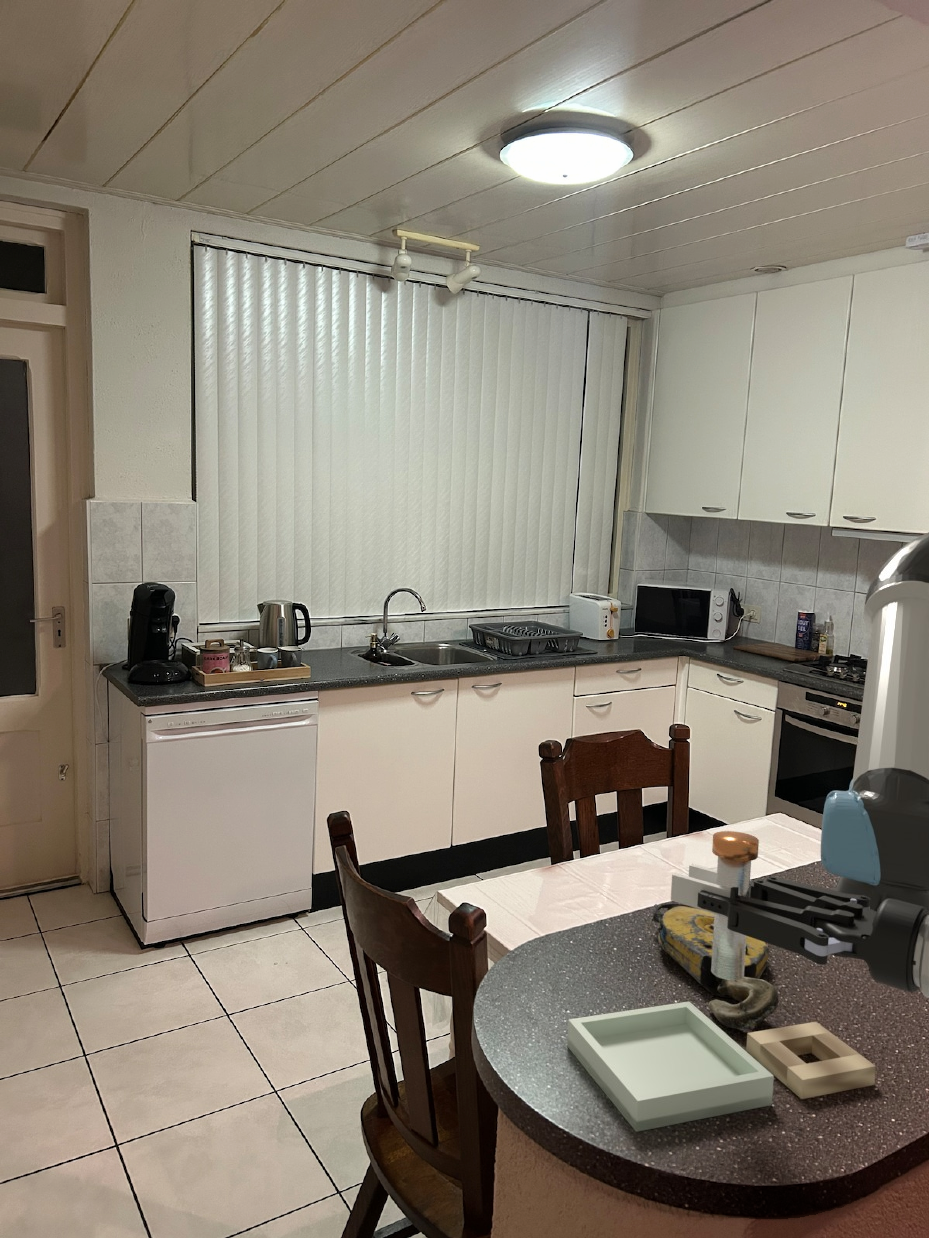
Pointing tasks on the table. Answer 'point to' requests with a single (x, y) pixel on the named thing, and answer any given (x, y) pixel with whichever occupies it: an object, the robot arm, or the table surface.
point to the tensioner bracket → (813, 1079)
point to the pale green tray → (668, 1065)
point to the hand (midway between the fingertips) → (682, 881)
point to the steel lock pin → (735, 872)
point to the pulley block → (691, 947)
